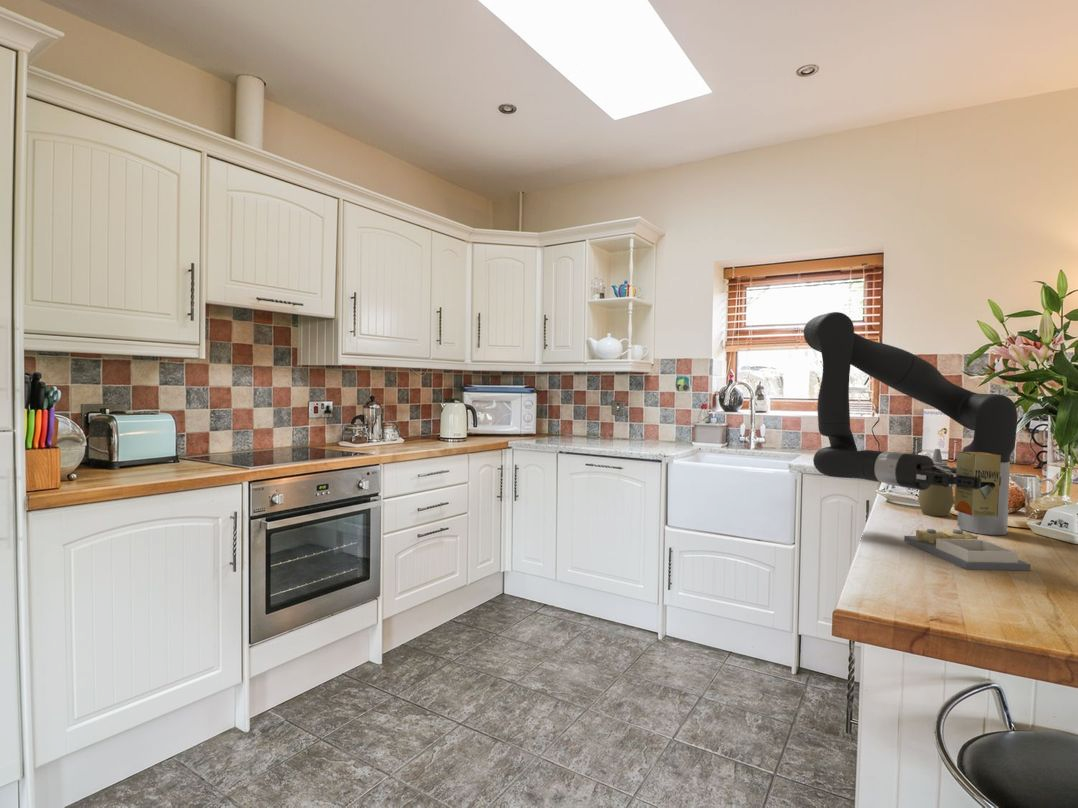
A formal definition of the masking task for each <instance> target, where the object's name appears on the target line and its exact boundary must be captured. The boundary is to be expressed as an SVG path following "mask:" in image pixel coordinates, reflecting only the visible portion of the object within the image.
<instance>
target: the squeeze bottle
mask: <svg viewBox="0 0 1078 808" xmlns="http://www.w3.org/2000/svg"><path fill="white" fill-rule="evenodd" d="M931 459H932V461H933V463H934V465H935V466H939V465H946V466H948V463H947V462H944V461H943V457H942V452H941V448H935V449H934V450H933V454H932V457H931ZM953 491H954V490H953V487H952V486H950V487H943V486H938V485H931V486H930V487H929V488H928V489H926V490H918V498H917V501H918V504H919V507H920V510H921V513H922V514H925V515H928V516H931V517H948V516H949V515H950V512H951V509H952V508H953V506H954V505H955V499H954V492H953Z"/></svg>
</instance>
